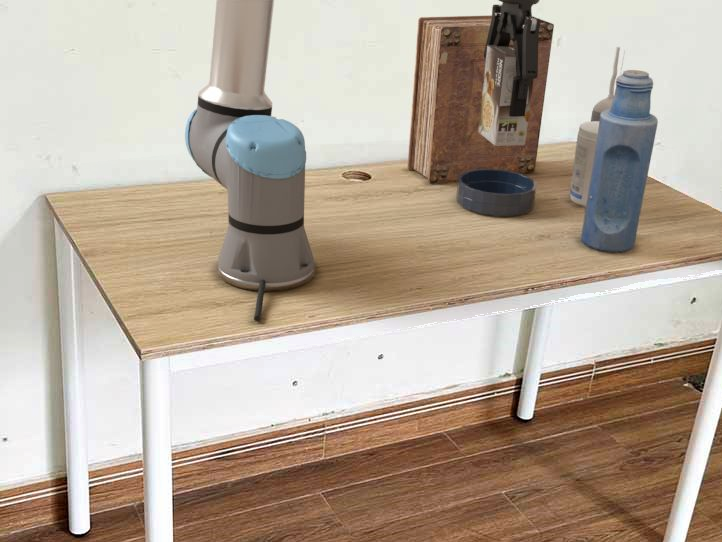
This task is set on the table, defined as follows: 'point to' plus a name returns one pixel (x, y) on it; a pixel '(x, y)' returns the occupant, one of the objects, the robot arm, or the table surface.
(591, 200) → the bottle
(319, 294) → the table surface
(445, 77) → the book
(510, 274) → the table surface
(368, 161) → the table surface
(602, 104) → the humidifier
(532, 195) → the bowl
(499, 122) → the coffee box
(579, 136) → the supplement tub
